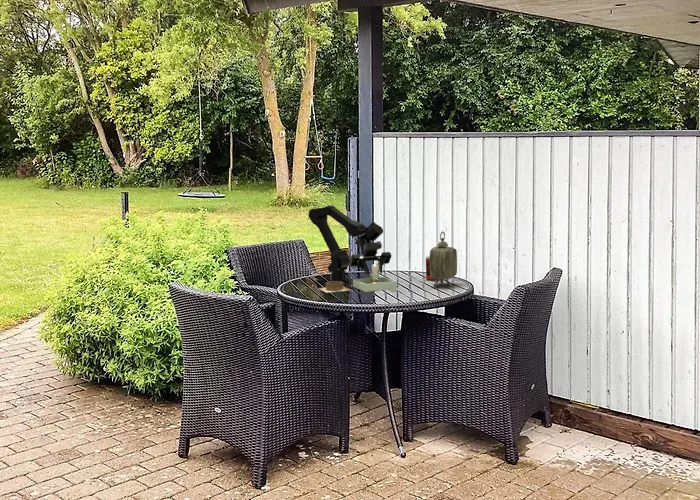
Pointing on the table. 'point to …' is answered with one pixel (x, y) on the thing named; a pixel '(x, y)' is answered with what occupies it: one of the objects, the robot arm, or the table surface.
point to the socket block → (334, 287)
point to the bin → (375, 285)
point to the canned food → (428, 269)
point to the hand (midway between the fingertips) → (375, 273)
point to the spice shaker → (374, 273)
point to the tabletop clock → (443, 262)
